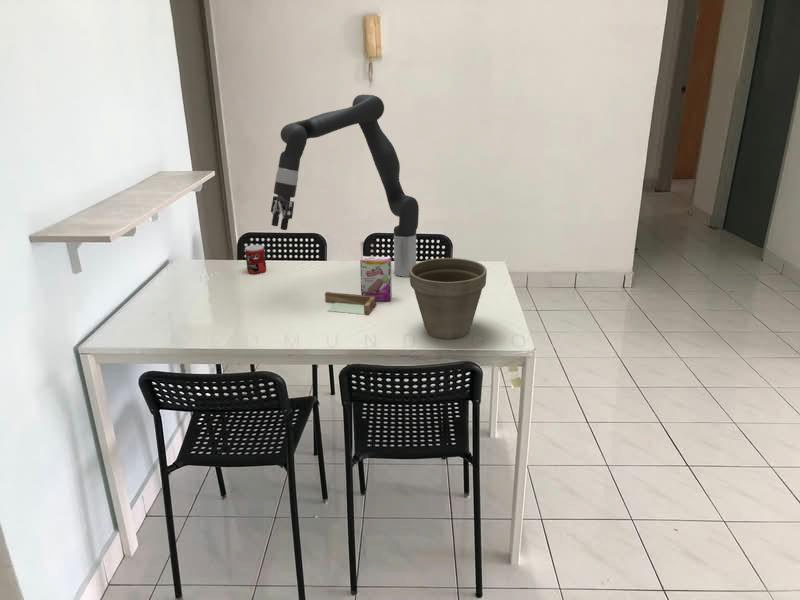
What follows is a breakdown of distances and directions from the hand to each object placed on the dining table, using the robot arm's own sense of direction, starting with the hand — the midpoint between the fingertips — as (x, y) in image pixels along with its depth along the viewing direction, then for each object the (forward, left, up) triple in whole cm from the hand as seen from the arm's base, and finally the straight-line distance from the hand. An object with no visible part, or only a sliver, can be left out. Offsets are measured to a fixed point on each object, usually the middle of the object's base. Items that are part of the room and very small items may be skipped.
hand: (278, 227), depth 214 cm
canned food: (-31, -28, -29) cm, 51 cm away
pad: (-1, +25, -29) cm, 38 cm away
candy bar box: (-12, +32, -29) cm, 45 cm away
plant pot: (+9, +63, -29) cm, 70 cm away
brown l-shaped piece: (-1, +24, -29) cm, 38 cm away
